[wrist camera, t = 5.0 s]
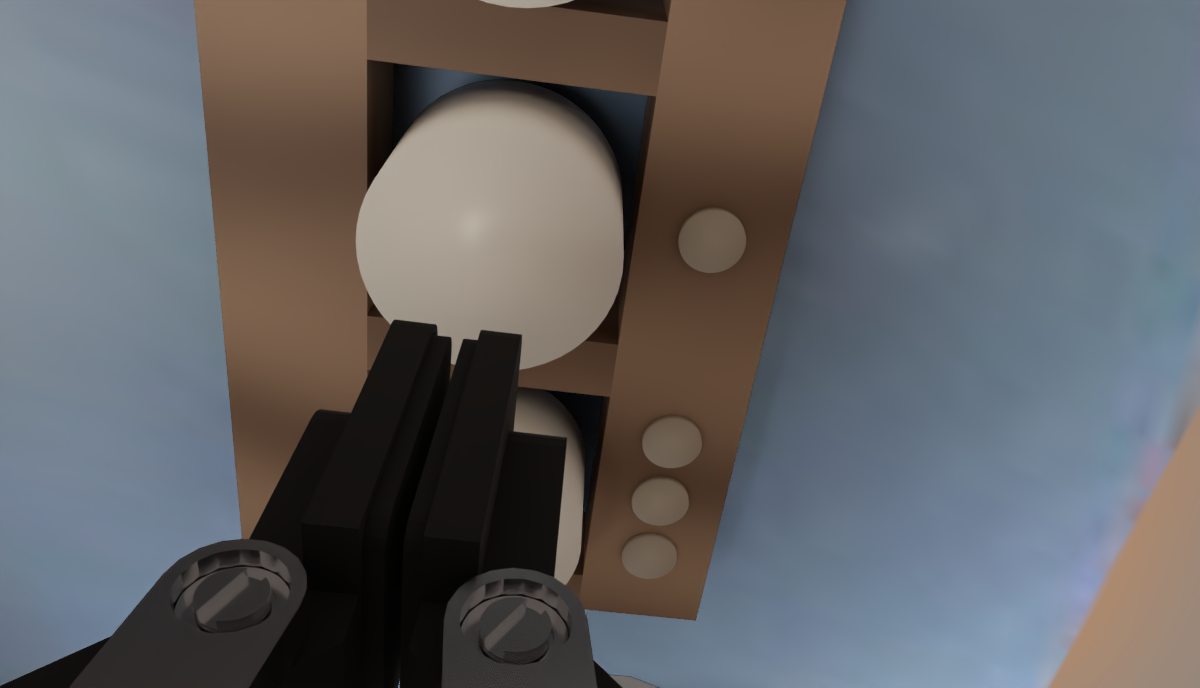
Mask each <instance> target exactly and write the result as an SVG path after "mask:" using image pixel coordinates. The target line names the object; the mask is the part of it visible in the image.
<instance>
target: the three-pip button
mask: <svg viewBox="0 0 1200 688" xmlns="http://www.w3.org/2000/svg"><path fill="white" fill-rule="evenodd" d="M450 380H451V379H450ZM514 431H515V432H524V433H533V434H541V435H550V436H559V437H567V447H566V458H565V468H564V479H563V490H562V500H561V511H560V522H559V533H558V543H557V554H556V565H555V576H554V578H556V579H557V580H558V581H560V582H561V583H563V584H564V585H566V584H567V583H568V581H569V580H570V578H571V576H572V575H573V573H574V571H575V569H576V566H577V564H578V561H579V557H580V553H581V538H582V517H583V496H584V475H585V445H584V441H583V437H582V434H581V432H580V429H579V427H578V425H577V423H576V421H575V420H574V418H573V416H572V415H571V413H570V412H569V411H568V410H567V409H566V407H565V406H564V405H563V404H562V403H561V402H560V401H559V400H558V399H556V398H555V397H554V396H553V395H552V394H550V393H549V392H547V391H546V390H545V389H536V388H527V387H518V390H517V400H516V411H515V422H514Z"/></svg>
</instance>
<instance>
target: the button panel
mask: <svg viewBox="0 0 1200 688" xmlns="http://www.w3.org/2000/svg"><path fill="white" fill-rule="evenodd" d="M846 1H847V0H573V1H570V2H567V3H563V4H558V5H553V6H549V7H538V8H516V7H505V6H500V5H495V4H490V3H486V2H484V1H481V0H194V6H195V17H196V28H197V39H198V51H199V62H200V73H201V84H202V95H203V107H204V118H205V129H206V140H207V151H208V162H209V174H210V185H211V196H212V207H213V218H214V230H215V241H216V252H217V263H218V274H219V285H220V297H221V308H222V319H223V330H224V341H225V353H226V364H227V375H228V386H229V397H230V408H231V420H232V431H233V442H234V453H235V464H236V475H237V487H238V498H239V509H240V520H241V531H242V539H249V538H250V536H251V534H252V532H253V530H254V528H255V526H256V524H257V522H258V521H259V519H260V517H261V515H262V513H263V511H264V509H265V507H266V505H267V503H268V501H269V499H270V497H271V495H272V493H273V491H274V489H275V487H276V486H277V484H278V482H279V480H280V478H281V476H282V474H283V472H284V470H285V468H286V466H287V464H288V462H289V460H290V458H291V456H292V454H293V452H294V451H295V449H296V447H297V445H298V443H299V441H300V439H301V437H302V435H303V433H304V431H305V429H306V427H307V425H308V423H309V421H310V419H311V418H312V416H313V415H314V413H315V412H316V411H317V410H319V409H323V410H332V411H341V412H350V413H351V412H352V409H353V407H354V405H355V403H356V401H357V398H358V396H359V394H360V392H361V390H362V387H363V385H364V383H365V381H366V379H367V376H368V374H369V372H370V370H371V368H372V365H373V363H374V361H375V359H376V357H377V354H378V352H379V350H380V348H381V346H382V343H383V341H384V339H385V337H386V334H387V332H388V330H389V328H390V326H391V325H390V324H389V323H388V321H387V320H386V319H385V318H384V317H383V316H382V314H381V313H380V311H379V310H378V309H377V307H376V306H375V304H374V303H373V301H372V299H371V297H370V295H369V293H368V291H367V289H366V287H365V284H364V282H363V279H362V276H361V274H360V269H359V265H358V260H357V253H356V228H357V221H358V217H359V212H360V208H361V206H362V203H363V200H364V198H365V195H366V193H367V191H368V189H369V188H370V186H371V184H372V182H373V180H374V179H375V177H376V176H377V174H378V173H379V171H380V170H381V168H382V167H383V165H384V164H385V162H386V161H387V159H388V158H389V156H390V155H391V153H392V152H393V76H394V63H398V64H406V65H414V66H422V67H430V68H437V69H445V70H453V71H461V72H469V73H476V74H484V75H492V76H500V77H508V78H515V79H523V80H531V81H539V82H547V83H554V84H562V85H570V86H578V87H586V88H593V89H601V90H609V91H617V92H625V93H632V94H640V95H648V98H647V105H646V111H645V118H644V125H643V131H642V138H641V145H640V152H639V158H638V165H637V172H636V178H635V185H634V192H633V198H632V205H631V212H630V219H629V225H628V232H627V239H626V245H625V252H624V260H623V273H622V277H621V282H620V286H619V292H618V295H616V298H615V300H614V303H613V305H612V307H611V308H610V310H609V312H608V314H607V316H606V317H605V318H604V320H603V321H602V322H601V324H600V325H599V326H598V328H597V329H596V330H595V331H594V332H593V333H592V334H591V335H590V336H589V337H588V338H587V339H586V340H585V341H584V342H582V343H581V344H580V345H578V346H577V347H576V348H575V349H573V350H571V351H570V352H568V353H566V354H565V355H563V356H561V357H559V358H557V359H555V360H552V361H550V362H548V363H545V364H542V365H538V366H535V367H532V368H527V369H521V370H519V379H518V387H527V388H536V389H545V390H553V391H562V392H571V393H580V394H589V395H598V396H603V399H602V406H601V413H600V420H599V426H598V433H597V440H596V446H595V453H594V460H593V466H592V473H591V480H590V486H589V493H588V500H587V507H586V513H583V517H582V538H581V553H580V557H579V561H578V564H577V566H576V569H575V571H574V573H573V575H572V576H571V578H570V580H569V581H568V583H567V584H566V586H567V587H569V588H570V589H571V590H572V591H573V593H574V594H575V595H576V596H577V598H578V599H579V600H580V601H581V603H582V605H583V608H584V609H588V610H598V611H607V612H617V613H627V614H637V615H647V616H657V617H667V618H677V619H686V620H696V618H697V613H698V609H699V605H700V601H701V597H702V593H703V589H704V585H705V581H706V576H707V572H708V568H709V564H710V560H711V556H712V552H713V548H714V544H715V540H716V535H717V531H718V527H719V523H720V519H721V515H722V511H723V507H724V503H725V498H726V494H727V490H728V486H729V482H730V478H731V474H732V470H733V466H734V461H735V457H736V453H737V449H738V445H739V441H740V437H741V433H742V429H743V425H744V420H745V416H746V412H747V408H748V404H749V400H750V396H751V392H752V388H753V383H754V379H755V375H756V371H757V367H758V363H759V359H760V355H761V351H762V346H763V342H764V338H765V334H766V330H767V326H768V322H769V318H770V314H771V310H772V305H773V301H774V297H775V293H776V289H777V285H778V281H779V277H780V273H781V268H782V264H783V260H784V256H785V252H786V248H787V244H788V240H789V236H790V231H791V227H792V223H793V219H794V215H795V211H796V207H797V203H798V199H799V195H800V190H801V186H802V182H803V178H804V174H805V170H806V166H807V162H808V158H809V153H810V149H811V145H812V141H813V137H814V133H815V129H816V125H817V121H818V116H819V112H820V108H821V104H822V100H823V96H824V92H825V88H826V84H827V79H828V75H829V71H830V67H831V63H832V59H833V55H834V51H835V47H836V43H837V38H838V34H839V30H840V26H841V22H842V18H843V14H844V10H845V6H846ZM454 367H455V365H454V364H451V373H450V379H451V377H452V373H453V370H454Z"/></svg>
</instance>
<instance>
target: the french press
mask: <svg viewBox="0 0 1200 688" xmlns="http://www.w3.org/2000/svg"><path fill="white" fill-rule="evenodd" d="M610 676H611V677H612V678H613V679H614V680H615V681H616V682H617V683H618V684H619V685H620V686H621V687H623V688H658V687H655V686H653V685H650V684H647V683H645V682H642V681H640V680H637V679H635V678H632V677H627V676H616V675H610Z"/></svg>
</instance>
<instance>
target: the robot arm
mask: <svg viewBox="0 0 1200 688" xmlns="http://www.w3.org/2000/svg"><path fill="white" fill-rule="evenodd" d="M521 346H522V334H513V333H505V332H496V331H488V330H481V331H480V334H479V337H478V340H472V339H463V341H462V344H461V347H460V351H459V354H458V357H457V360H456V364H455V367H454V370H453V373H452V377H451V380H450V373H451V353H452V339H451V337H447V336H438V330H437V325H436V324H429V323H421V322H412V321H404V320H393V322H392V323H391V326H390V328H389V330H388V332H387V334H386V337H385V339H384V341H383V343H382V346H381V348H380V350H379V352H378V354H377V357H376V359H375V361H374V363H373V365H372V368H371V370H370V372H369V374H368V376H367V379H366V381H365V383H364V385H363V387H362V390H361V392H360V394H359V396H358V398H357V401H356V403H355V405H354V407H353V409H352V412H351V413H350V412H341V411H332V410H323V409H319V410H317V411H316V412H315V413H314V415H313V416H312V418H311V419H310V421H309V423H308V425H307V427H306V429H305V431H304V433H303V435H302V437H301V439H300V441H299V443H298V445H297V447H296V449H295V451H294V452H293V454H292V456H291V458H290V460H289V462H288V464H287V466H286V468H285V470H284V472H283V474H282V476H281V478H280V480H279V482H278V484H277V486H276V487H275V489H274V491H273V493H272V495H271V497H270V499H269V501H268V503H267V505H266V507H265V509H264V511H263V513H262V515H261V517H260V519H259V521H258V522H257V524H256V526H255V528H254V530H253V532H252V534H251V536H250V538H249V539H238V540H229V541H221V542H218V543H215V544H211V545H208V546H205V547H202V548H199V549H197V550H195V551H194V552H192V553H190V554H188V555H186V556H184V557H183V558H181V559H179V560H178V561H177V562H176V563H175V564H174V565H173V566H171V567H170V568H169V569H168V570H167V571H166V572H165V573H164V574H163V575H162V576H161V577H160V579H159V580H158V581H157V582H156V583H155V585H154V586H153V587H152V588H151V589H150V591H149V592H148V593H147V594H146V595H145V597H144V598H143V599H142V600H141V601H140V603H139V604H138V605H137V606H136V607H135V609H134V610H133V611H132V612H131V613H130V615H129V616H128V617H127V618H126V619H125V621H124V622H123V623H122V624H121V625H120V627H119V628H118V629H117V630H116V631H115V633H114V634H113V635H112V636H111V637H109V638H106V639H104V640H102V641H100V642H97V643H95V644H93V645H91V646H88V647H86V648H84V649H82V650H79V651H77V652H75V653H73V654H71V655H68V656H66V657H64V658H62V659H59V660H57V661H55V662H53V663H50V664H48V665H46V666H44V667H42V668H39V669H37V670H35V671H33V672H30V673H28V674H26V675H24V676H21V677H19V678H17V679H15V680H13V681H10V682H8V683H6V684H4V685H1V686H0V688H398V685H399V681H400V688H623V687H621V686H620V685H619V684H618V683H617V682H616V681H615V680H614V679H613V678H612V677H611V676H610V675H609V674H608V673H607V672H605V671H604V670H603V669H602V668H601V667H600V666H599V665H598V664H597V663H596V662H595V661H594V660H593V655H592V648H591V642H590V635H589V628H588V621H587V617H586V614H585V611H584V608H583V605H582V603H581V601H580V600H579V599H578V598H577V596H576V595H575V594H574V593H573V591H572V590H571V589H570V588H569V587H567V586H566V585H564V584H563V583H561V582H560V581H558V580H557V579H556V578H554V576H555V565H556V554H557V543H558V533H559V522H560V511H561V500H562V490H563V479H564V468H565V458H566V447H567V437H559V436H550V435H541V434H533V433H524V432H515V431H514V422H515V411H516V400H517V390H518V379H519V368H520V358H521Z"/></svg>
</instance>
